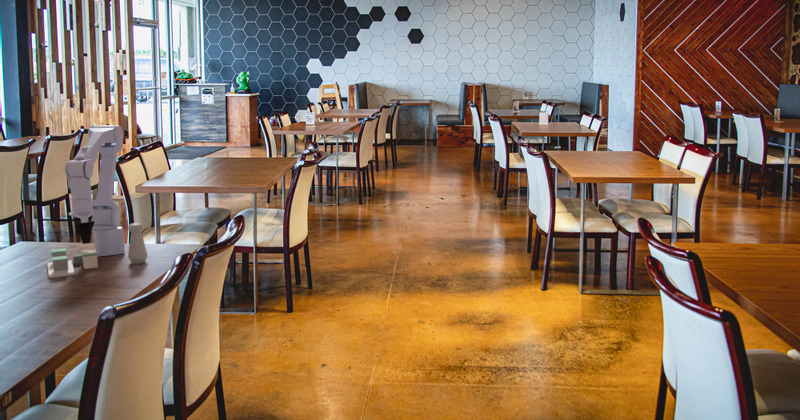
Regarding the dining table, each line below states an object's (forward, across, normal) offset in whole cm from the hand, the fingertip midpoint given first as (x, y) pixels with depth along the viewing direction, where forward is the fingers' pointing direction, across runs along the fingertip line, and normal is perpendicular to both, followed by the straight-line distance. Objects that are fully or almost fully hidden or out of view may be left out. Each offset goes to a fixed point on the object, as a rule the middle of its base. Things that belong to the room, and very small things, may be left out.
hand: (85, 240), depth 212 cm
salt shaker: (+9, +3, +15) cm, 17 cm away
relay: (+9, -6, -1) cm, 10 cm away
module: (+8, 0, +1) cm, 9 cm away
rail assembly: (+8, 0, -8) cm, 12 cm away
